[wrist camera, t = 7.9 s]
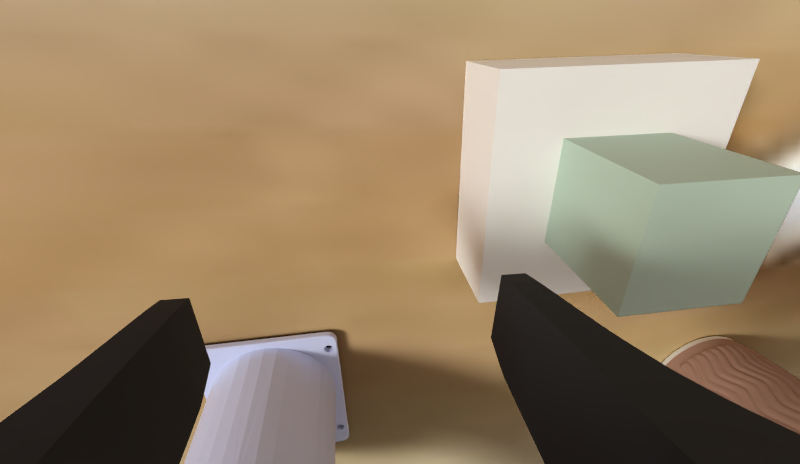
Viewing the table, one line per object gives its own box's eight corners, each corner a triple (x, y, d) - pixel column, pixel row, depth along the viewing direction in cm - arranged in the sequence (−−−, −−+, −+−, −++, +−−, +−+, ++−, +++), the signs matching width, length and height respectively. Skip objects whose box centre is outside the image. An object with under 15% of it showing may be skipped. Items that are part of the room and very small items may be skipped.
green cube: (639, 233, 17) (742, 302, 13) (544, 241, 17) (617, 317, 12) (671, 132, 15) (806, 174, 11) (563, 138, 15) (659, 184, 10)
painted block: (623, 241, 22) (675, 281, 19) (455, 258, 21) (478, 302, 18) (676, 53, 18) (759, 58, 14) (465, 60, 17) (499, 69, 13)
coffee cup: (684, 426, 33) (849, 616, 22) (601, 397, 29) (750, 606, 19) (786, 341, 29) (1040, 518, 19) (705, 296, 26) (961, 483, 15)
